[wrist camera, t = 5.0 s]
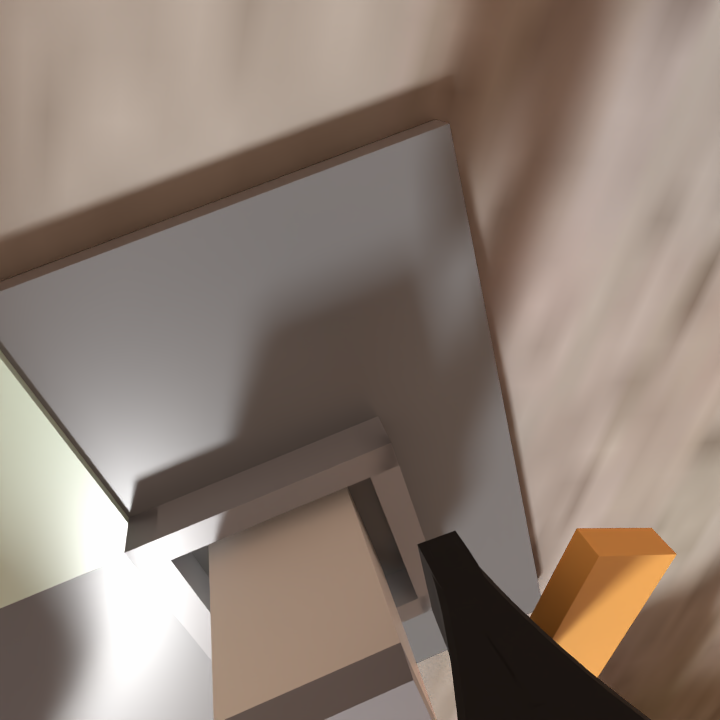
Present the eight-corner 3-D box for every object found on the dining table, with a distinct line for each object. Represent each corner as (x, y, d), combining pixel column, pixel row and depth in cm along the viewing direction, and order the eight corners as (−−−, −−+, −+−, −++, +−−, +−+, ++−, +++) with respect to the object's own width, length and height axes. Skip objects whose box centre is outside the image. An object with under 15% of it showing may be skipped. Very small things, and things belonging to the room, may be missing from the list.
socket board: (92, 783, 21) (56, 1052, 15) (-384, 424, 11) (-946, 792, 6) (532, 590, 22) (647, 773, 16) (435, 119, 13) (629, 176, 7)
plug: (262, 613, 18) (290, 842, 13) (208, 532, 16) (215, 768, 10) (380, 563, 18) (453, 767, 13) (342, 476, 16) (413, 680, 11)
